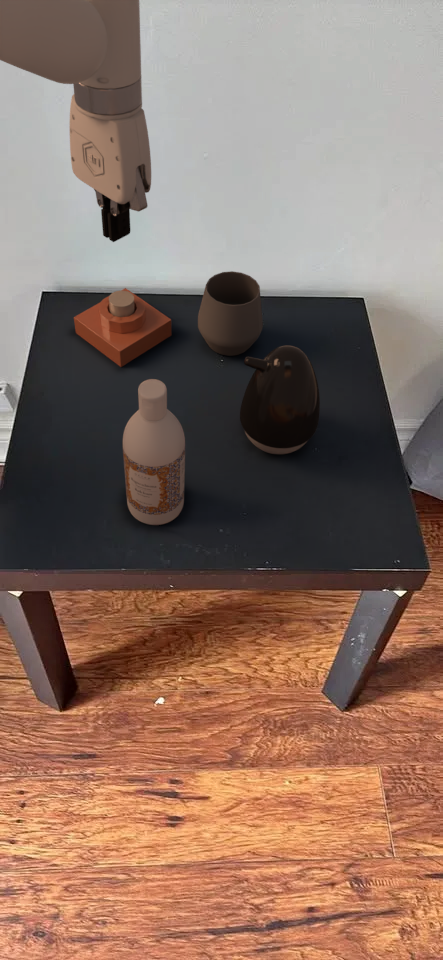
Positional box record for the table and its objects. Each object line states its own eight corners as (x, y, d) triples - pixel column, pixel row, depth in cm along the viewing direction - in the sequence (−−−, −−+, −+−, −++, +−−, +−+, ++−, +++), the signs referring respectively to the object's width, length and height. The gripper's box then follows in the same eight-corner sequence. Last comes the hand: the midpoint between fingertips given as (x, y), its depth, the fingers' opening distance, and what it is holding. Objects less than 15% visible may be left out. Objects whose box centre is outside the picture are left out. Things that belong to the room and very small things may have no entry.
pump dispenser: (232, 410, 103) (240, 324, 91) (306, 407, 104) (324, 322, 92) (240, 468, 96) (250, 383, 84) (320, 464, 97) (340, 380, 86)
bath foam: (117, 516, 91) (106, 400, 75) (141, 474, 95) (135, 357, 79) (170, 534, 90) (170, 421, 74) (192, 492, 94) (196, 376, 78)
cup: (185, 349, 110) (186, 294, 102) (216, 314, 115) (219, 259, 107) (242, 373, 107) (247, 318, 99) (271, 336, 112) (278, 281, 105)
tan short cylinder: (121, 321, 106) (120, 310, 104) (104, 309, 107) (103, 297, 106) (139, 310, 108) (139, 298, 106) (123, 298, 109) (122, 287, 107)
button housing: (120, 367, 107) (119, 340, 103) (75, 333, 111) (72, 306, 107) (171, 335, 111) (171, 308, 108) (126, 303, 115) (124, 276, 111)
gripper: (38, 77, 85) (57, 221, 99) (128, 127, 79) (134, 273, 93) (90, 58, 88) (101, 200, 103) (179, 105, 82) (177, 249, 97)
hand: (116, 234), depth 98 cm, fingers closed
